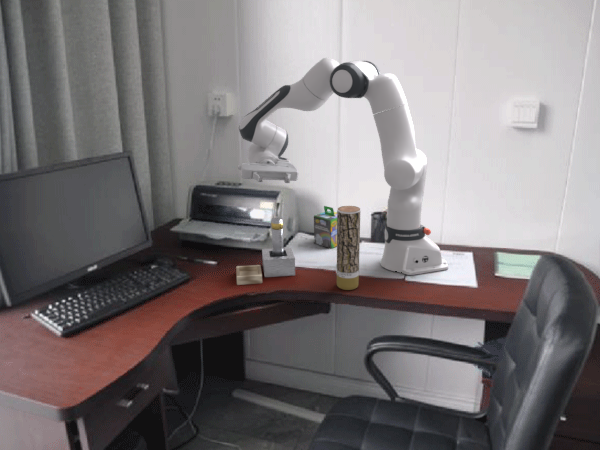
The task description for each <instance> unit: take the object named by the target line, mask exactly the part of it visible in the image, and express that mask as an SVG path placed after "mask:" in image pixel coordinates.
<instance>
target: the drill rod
mask: <svg viewBox="0 0 600 450" xmlns="http://www.w3.org/2000/svg"><path fill="white" fill-rule="evenodd" d="M270 223H271V225H270V226H271V240H272V241H271V243H272V244H271V245H272V247H271V249H273V257H282V256H284V253H283V248H284V220H283V217H273V218H271V222H270Z"/></svg>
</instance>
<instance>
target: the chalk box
mask: <svg viewBox="0 0 600 450" xmlns="http://www.w3.org/2000/svg"><path fill="white" fill-rule="evenodd" d="M323 209H324V212H320V213H316V214H314V215H313V232H314V233H313V234H314V235H313V241H314V244H316V245H318V246H320V247H321V246H322V247H324V248H326V249H327V248H328V249H333V248H337V211H334V207H330V206H327V205H324V206H323Z"/></svg>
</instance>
